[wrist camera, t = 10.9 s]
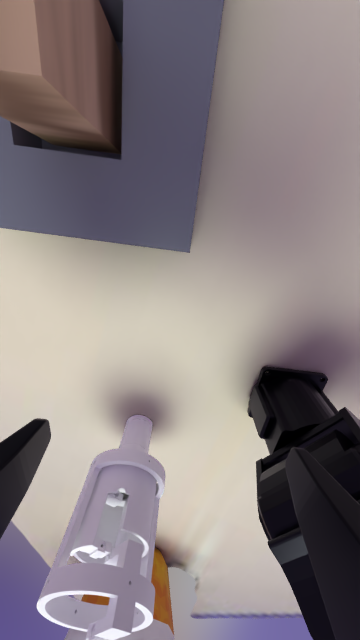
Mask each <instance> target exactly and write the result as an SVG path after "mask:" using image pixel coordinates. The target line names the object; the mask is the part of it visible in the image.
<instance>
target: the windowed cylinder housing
mask: <svg viewBox="0 0 360 640" xmlns="http://www.w3.org/2000/svg"><path fill="white" fill-rule="evenodd" d="M152 427H153V424H152V421H151V420H150V419H149V418H147V417H146V416H143V415H134V416H131V417H130V418H129V419H128V420H127V423H126V426H125V430H124V433H123V436H122V440H121V443H120V446H119V449H112V450H108V451H105V452H103V453H101V454H99V455H98V456H97V457H96V458H95V459H94V460H93V462H92V464H91V467H90V469H89V472H88V475H87V478H86V481H85V483H84V486H83V489H82V491H81V494H80V496H79V499H78V501H77V504H76V507H75V509H74V512H73V514H72V517H71V519H70V522H69V525H68V527H67V530H66V532H65V535H64V537H63V540H62V543H61V545H60V548H59V550H58V553H57V555H56V558H55V561H54V563H53V566H52V568H51V571H50V573H49V575H48V577H47V579H46V582H45V585H44V587H43V590H42V592H41V595H40V597H39V600H38V603H37V609H38V611H39V613H40V614H41V615H42V616H44V617H45V618H47V619H48V620H50V621H52V622H54V623H56V624H59V625H61V626H64V627H68V628H71V629H75V630H80V631H85V632H87V635H86V640H115V639H118V638H120V637H125V636H127V635H130V634H131V633H132V632H135V631H138V630H141V629H144V628H146V627H148V626H149V625H150V624H151V623H152V621H153V612H154V601H155V587H154V586H153V584H152V583H151V578H152V568H153V558H154V548H155V538H156V528H157V518H158V508H159V499H160V498H161V496H162V495H163V492H164V485H165V470H164V468H163V466H162V465H161V463H160V462H159V461H158V460H157V459H155V458H154V457H152V456H151V455H149V454H148V450H149V444H150V438H151V432H152ZM157 482H158V483H157ZM156 483H157V484H156ZM81 551H82V552H81ZM73 555H74V557H75V558H76V559H78V560H79V561H81V562H82V563H75V564H69V565H67V562H68V559H69V557H70V556H73ZM73 594H89V595H99V596H105V597H110V600H109V605H97V604H91V603H87V602H83V601H80V600H77V599H74V598H71V597H69V596H67V595H73Z"/></svg>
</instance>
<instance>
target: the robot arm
mask: <svg viewBox="0 0 360 640" xmlns="http://www.w3.org/2000/svg"><path fill="white" fill-rule="evenodd" d="M267 371H269V372H268V373H265V372H267ZM321 378H322V379H321ZM327 381H328V378H327V376H326V375H325V374H323V373H315V372H307V371H299V370H291V369H282V368H274V367H264V368H263V369H262V370H261V373H260V376H259V379H258V382H257V385H255V386H254V388H253V391H252V394H251V398H250V401H249V409H248V415H249V416H250V417H252V418H253V420H254V423H255V426H256V429H257V432H258V435H259V437H260V438H262V439H265V441H266V444H267V447H268V450H269V453H270V455H269V456H267V457H265V458H264V459H260V460H258V461H256V474H257V502H258V513H259V519H260V522H261V524H262V527H263V529H264V532H265V534H266V536H267V538H268V540H269V541H268V546H269V548H270V550H271V551H272V553H273V554H274V556H275V557H276V559H277V561H278V562H279V564H280V565H281V567H282V569H283V571H284V573H285V575H286V577H287V579H288V581H289V583H290V585H291V588H292V590H293V592H294V595H295V597H296V599H297V602H298V604H299V607H300V610H301V612H302V615H303V617H304V620H305V622H306V625H307V627H308V630H309V632H310V634H311V636H312V638H313V640H360V420H359V419H358V418H357V417H356V416H355V415H353V414H352V413H351V412H350V411H349V410H348V409H347V408H346V407H344V408H343V409H341V410H339V412H338V411H337V409H336V408H335V407H334V405H333V404H332V403H331V402H330V400H329V399H328V398H327V396H326V395H325V394H324V393H323V389H324V387H325V385H326V383H327ZM50 439H51V432H50V426H49V421H48V420H47V419H39V418H37V419H34V420H32V421H31V422H30V423H28V424H27V425H25V426H24V427H22V428H21V429H19V430H18V431H16V432H15V433H14V434H12V435H11V436H9V437H8V438H6V439H5V440H3V441H2V442H0V538H1V537H2V535H3V533H4V531H5V530H6V528H7V526H8V524H9V523H10V521H11V519H12V517H13V515H14V514H15V512H16V510H17V508H18V506H19V505H20V503H21V501H22V499H23V498H24V496H25V494H26V492H27V490H28V488H29V486H30V484H31V482H32V480H33V477H34V475H35V473H36V471H37V469H38V466H39V464H40V462H41V460H42V457H43V455H44V453H45V451H46V448H47V446H48V444H49V442H50Z"/></svg>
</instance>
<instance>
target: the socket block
mask: <svg viewBox="0 0 360 640" xmlns="http://www.w3.org/2000/svg"><path fill="white" fill-rule="evenodd" d="M99 2H100V4H101V7H102V9H103V11H104V14H105V16H106V19H107V21H108V24H109V26H110V29H111V31H112V34H113V36H114V38H115V41H116V43H117V46H118V48H119V51H120V53H121V56H122V58H123V67H122V155H121V154H114V153H106V152H99V151H92V150H84V149H77V148H70V147H62V146H55V145H53V144H51V143H49V142H47V141H45V140H43V139H41V138H40V137H38V136H36V135H34V134H32V133H30V132H29V131H27V130H25V129H23V128H21V127H19V126H18V125H16V124H14V123H12V122H10V121H8V120H7V119H5V118H3V117H1V116H0V228H6V229H14V230H21V231H29V232H37V233H44V234H52V235H59V236H67V237H75V238H82V239H90V240H97V241H105V242H112V243H120V244H128V245H135V246H143V247H150V248H158V249H166V250H173V251H181V252H188V253H190V246H191V239H192V232H193V224H194V217H195V210H196V202H197V195H198V188H199V180H200V173H201V166H202V158H203V151H204V144H205V136H206V129H207V122H208V114H209V107H210V100H211V92H212V85H213V78H214V70H215V63H216V55H217V48H218V41H219V33H220V26H221V19H222V11H223V4H224V0H99Z"/></svg>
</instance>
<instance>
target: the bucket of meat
mask: <svg viewBox="0 0 360 640" xmlns="http://www.w3.org/2000/svg"><path fill="white" fill-rule="evenodd" d="M151 583H152V584H153V586H154V587H155V601H154V612H153V621H152V623H151V624H150V625H149V626H148V627H146V628H144V629H141V630H138V631H135V632H132V633H131V634H130V635H127V636H125V637H120V638H118V639H115V640H174V631H173V620H172V611H171V600H170V588H169V578H168V567H167V565H166V563H165V560H164V558H163V556H162V554H161V552H160V550H158V549H156V548H154V558H153V568H152V578H151ZM109 600H110V597H105V596H99V595H89V594H84V595H83V597H82V600H81V601H83V602H87V603H91V604H97V605H109ZM86 635H87V632H85V631H80V630H75V629H71V628H69V631H68V633H67V635H66V638H65V639H64V640H86Z"/></svg>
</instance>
